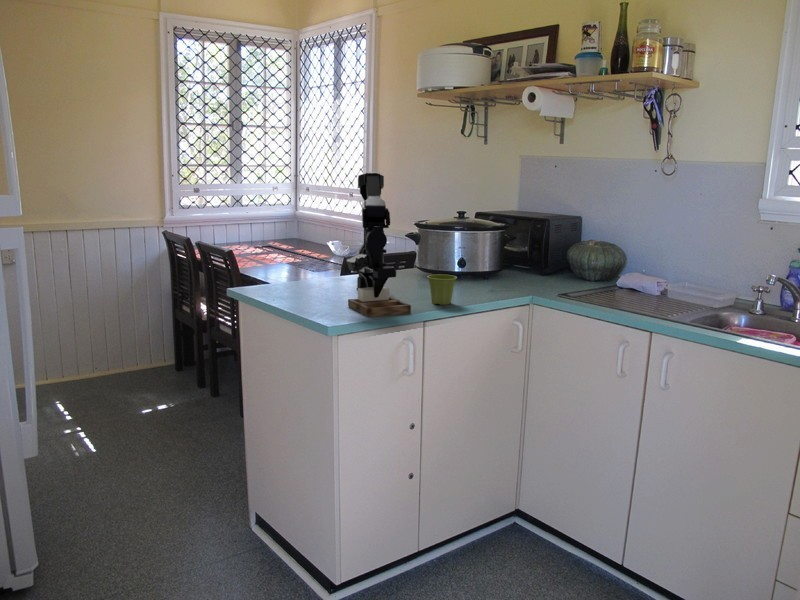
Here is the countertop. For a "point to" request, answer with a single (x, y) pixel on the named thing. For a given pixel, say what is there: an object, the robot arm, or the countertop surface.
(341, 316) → the countertop surface
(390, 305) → the slot board
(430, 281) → the plant pot
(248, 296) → the countertop surface
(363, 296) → the off-white square pillar
